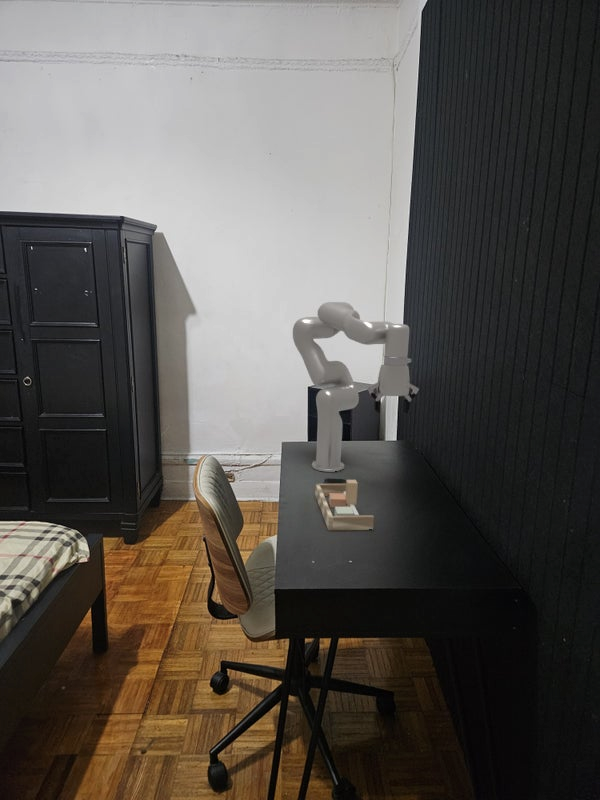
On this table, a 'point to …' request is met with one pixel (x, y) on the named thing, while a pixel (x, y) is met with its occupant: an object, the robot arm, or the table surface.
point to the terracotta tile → (337, 500)
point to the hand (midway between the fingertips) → (391, 412)
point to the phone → (334, 481)
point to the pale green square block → (343, 511)
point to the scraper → (351, 494)
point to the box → (340, 521)
